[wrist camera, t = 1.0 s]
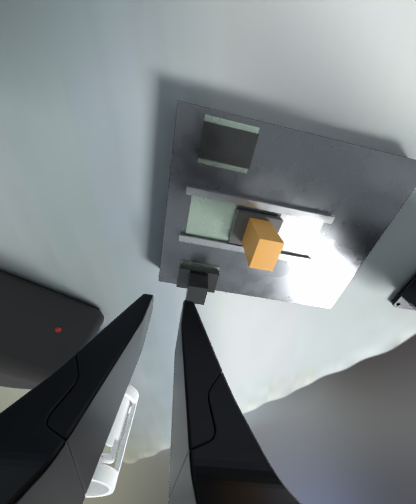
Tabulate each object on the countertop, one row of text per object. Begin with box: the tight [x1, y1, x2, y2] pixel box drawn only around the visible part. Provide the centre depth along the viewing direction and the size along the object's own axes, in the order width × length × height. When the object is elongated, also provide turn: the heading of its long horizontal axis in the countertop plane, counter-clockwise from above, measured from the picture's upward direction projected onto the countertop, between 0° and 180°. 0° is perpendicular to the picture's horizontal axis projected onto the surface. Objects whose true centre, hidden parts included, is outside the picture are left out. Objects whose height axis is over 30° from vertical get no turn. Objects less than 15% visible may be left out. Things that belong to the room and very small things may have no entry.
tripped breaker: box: [228, 209, 285, 271], centre depth 17 cm, size 4×3×5 cm
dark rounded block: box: [0, 271, 104, 389], centre depth 22 cm, size 16×5×9 cm, turn 58°
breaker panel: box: [159, 101, 416, 309], centre depth 19 cm, size 20×16×5 cm
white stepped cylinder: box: [85, 385, 139, 497], centre depth 25 cm, size 7×7×15 cm
